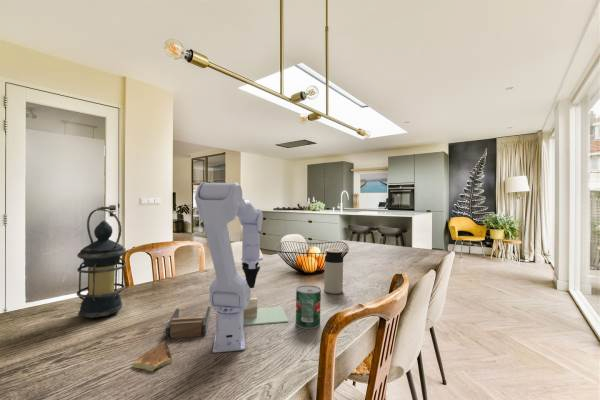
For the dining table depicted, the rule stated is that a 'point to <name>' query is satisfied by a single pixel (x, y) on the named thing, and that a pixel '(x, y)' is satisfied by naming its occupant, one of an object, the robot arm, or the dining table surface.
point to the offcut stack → (186, 326)
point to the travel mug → (333, 271)
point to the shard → (154, 357)
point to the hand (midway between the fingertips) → (250, 285)
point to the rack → (176, 315)
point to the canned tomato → (308, 306)
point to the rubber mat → (267, 316)
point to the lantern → (101, 272)
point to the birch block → (251, 308)
